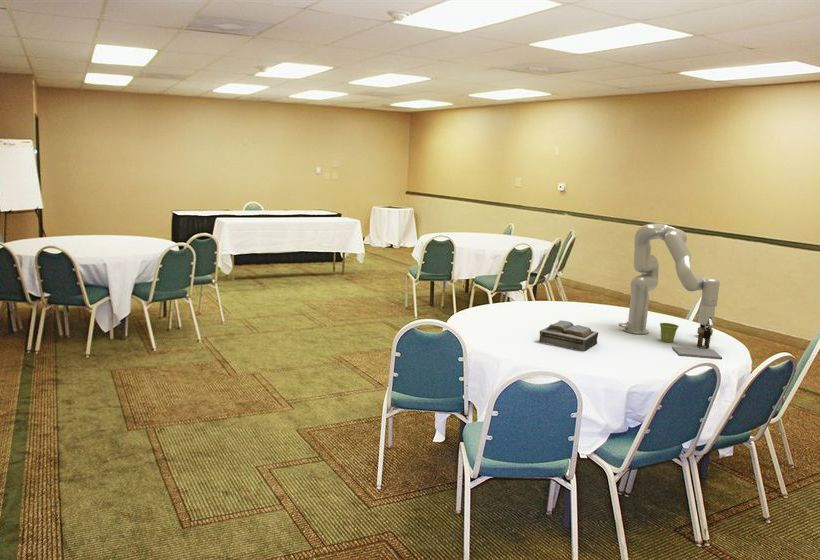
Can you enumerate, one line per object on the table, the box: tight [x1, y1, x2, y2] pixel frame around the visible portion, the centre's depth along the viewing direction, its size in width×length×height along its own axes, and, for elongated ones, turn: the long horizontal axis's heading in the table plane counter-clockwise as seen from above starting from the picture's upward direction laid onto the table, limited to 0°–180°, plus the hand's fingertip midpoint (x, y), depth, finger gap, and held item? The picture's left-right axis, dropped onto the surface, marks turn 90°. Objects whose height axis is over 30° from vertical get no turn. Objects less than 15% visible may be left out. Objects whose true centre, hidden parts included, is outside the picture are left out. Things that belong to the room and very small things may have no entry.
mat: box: [671, 345, 723, 360], centre depth 324 cm, size 20×13×1 cm, turn 82°
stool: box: [696, 326, 714, 349], centre depth 336 cm, size 7×7×10 cm
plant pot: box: [659, 322, 680, 343], centre depth 345 cm, size 9×9×9 cm
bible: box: [538, 319, 599, 352], centre depth 331 cm, size 23×27×10 cm
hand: (704, 336), depth 335 cm, fingers closed on stool, 7 cm apart
